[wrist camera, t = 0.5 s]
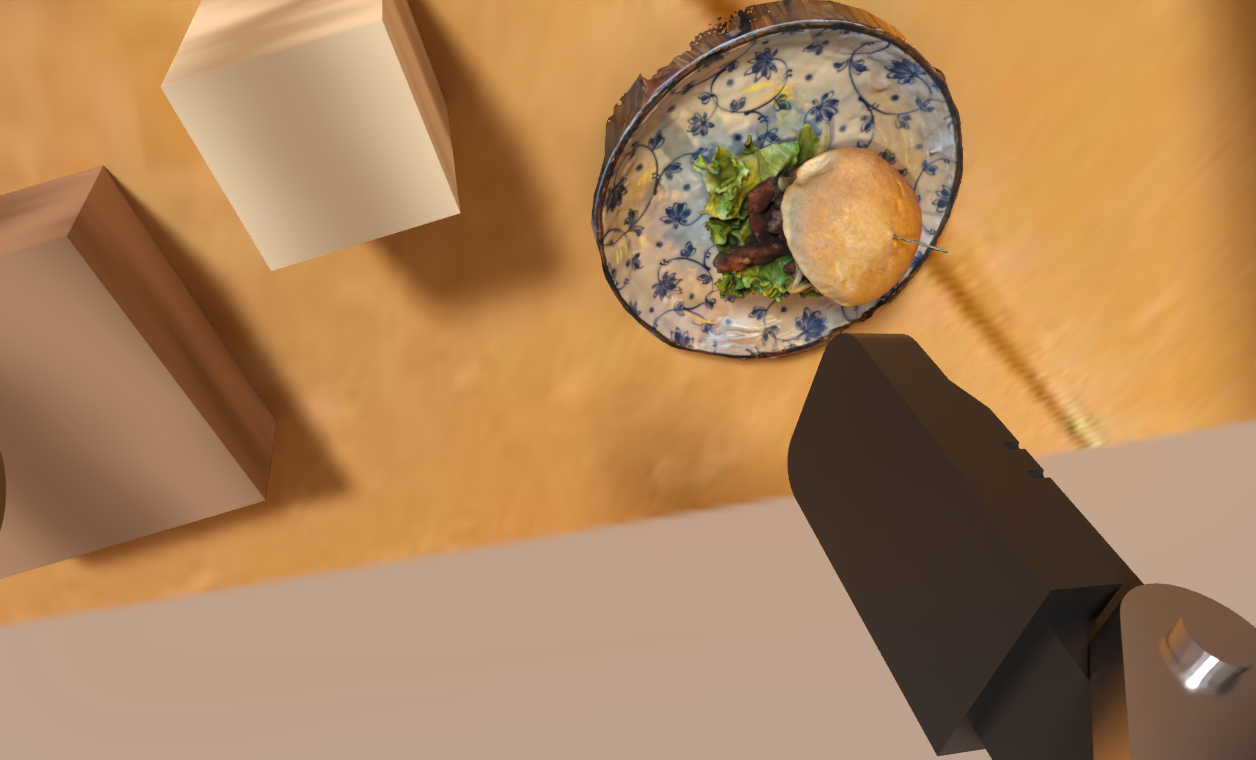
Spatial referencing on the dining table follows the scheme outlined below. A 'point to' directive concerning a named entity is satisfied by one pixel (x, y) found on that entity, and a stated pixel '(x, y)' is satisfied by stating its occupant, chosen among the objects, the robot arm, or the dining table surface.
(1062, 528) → the robot arm
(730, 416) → the dining table surface
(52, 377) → the walnut block
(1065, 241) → the dining table surface
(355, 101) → the oak block
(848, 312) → the burger
